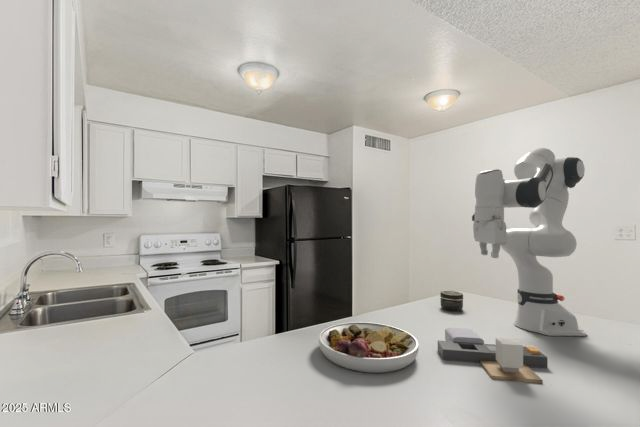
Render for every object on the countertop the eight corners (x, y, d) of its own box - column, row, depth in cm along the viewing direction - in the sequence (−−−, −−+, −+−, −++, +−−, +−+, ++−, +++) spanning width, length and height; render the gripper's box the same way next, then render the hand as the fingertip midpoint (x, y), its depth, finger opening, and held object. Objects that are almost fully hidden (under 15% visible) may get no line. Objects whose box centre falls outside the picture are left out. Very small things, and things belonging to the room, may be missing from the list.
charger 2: (515, 366, 86) (515, 339, 86) (523, 374, 81) (523, 345, 82) (495, 365, 87) (495, 337, 87) (502, 372, 82) (502, 344, 82)
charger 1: (466, 336, 111) (484, 353, 96) (439, 334, 112) (453, 352, 97) (466, 323, 112) (484, 338, 97) (440, 321, 112) (453, 336, 98)
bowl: (334, 331, 114) (335, 310, 115) (420, 343, 104) (420, 319, 105) (303, 366, 86) (303, 338, 86) (416, 387, 76) (416, 355, 76)
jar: (443, 305, 153) (443, 289, 154) (465, 308, 148) (465, 292, 148) (437, 309, 145) (437, 293, 145) (460, 313, 139) (460, 296, 140)
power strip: (534, 357, 94) (534, 344, 94) (547, 368, 87) (547, 354, 87) (437, 349, 98) (437, 337, 98) (442, 359, 91) (442, 346, 91)
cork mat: (525, 367, 87) (525, 364, 87) (542, 383, 78) (542, 380, 79) (479, 363, 89) (479, 360, 89) (491, 378, 80) (491, 375, 80)
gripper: (512, 215, 96) (513, 260, 96) (488, 216, 116) (488, 253, 116) (491, 215, 97) (491, 259, 97) (470, 216, 117) (470, 253, 117)
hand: (489, 256), depth 106 cm, fingers open, 8 cm apart
